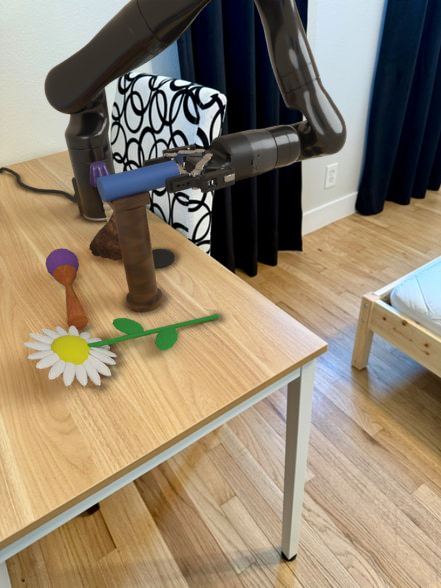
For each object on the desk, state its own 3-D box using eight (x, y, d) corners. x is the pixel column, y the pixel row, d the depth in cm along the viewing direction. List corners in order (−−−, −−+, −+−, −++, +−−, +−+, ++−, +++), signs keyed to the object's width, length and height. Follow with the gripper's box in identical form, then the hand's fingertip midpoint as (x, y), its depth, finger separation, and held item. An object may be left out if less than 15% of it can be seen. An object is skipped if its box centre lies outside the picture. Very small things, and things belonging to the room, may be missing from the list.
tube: (107, 206, 62) (102, 182, 60) (99, 197, 65) (94, 174, 62) (181, 187, 67) (179, 164, 65) (171, 179, 69) (169, 157, 67)
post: (135, 317, 74) (113, 205, 61) (122, 297, 78) (99, 190, 65) (168, 304, 76) (155, 195, 64) (154, 286, 81) (138, 180, 68)
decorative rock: (152, 251, 90) (145, 204, 84) (141, 267, 86) (133, 219, 79) (100, 246, 93) (89, 200, 86) (86, 261, 88) (74, 213, 82)
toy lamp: (118, 241, 94) (104, 168, 84) (98, 240, 95) (82, 167, 85) (126, 231, 98) (113, 159, 88) (107, 229, 99) (92, 158, 88)
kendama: (52, 317, 68) (38, 249, 81) (68, 340, 72) (52, 272, 86) (88, 302, 69) (68, 238, 83) (101, 326, 73) (80, 261, 87)
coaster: (134, 265, 86) (134, 264, 86) (150, 248, 92) (149, 246, 91) (166, 271, 84) (165, 269, 84) (180, 253, 90) (180, 251, 89)
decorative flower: (200, 307, 79) (23, 345, 66) (202, 286, 76) (18, 322, 63) (232, 353, 70) (36, 408, 57) (237, 331, 67) (31, 384, 54)
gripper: (220, 122, 75) (133, 139, 68) (269, 144, 65) (172, 167, 58) (221, 164, 79) (140, 184, 73) (267, 191, 69) (177, 217, 63)
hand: (154, 176), depth 66 cm, fingers open, 8 cm apart
